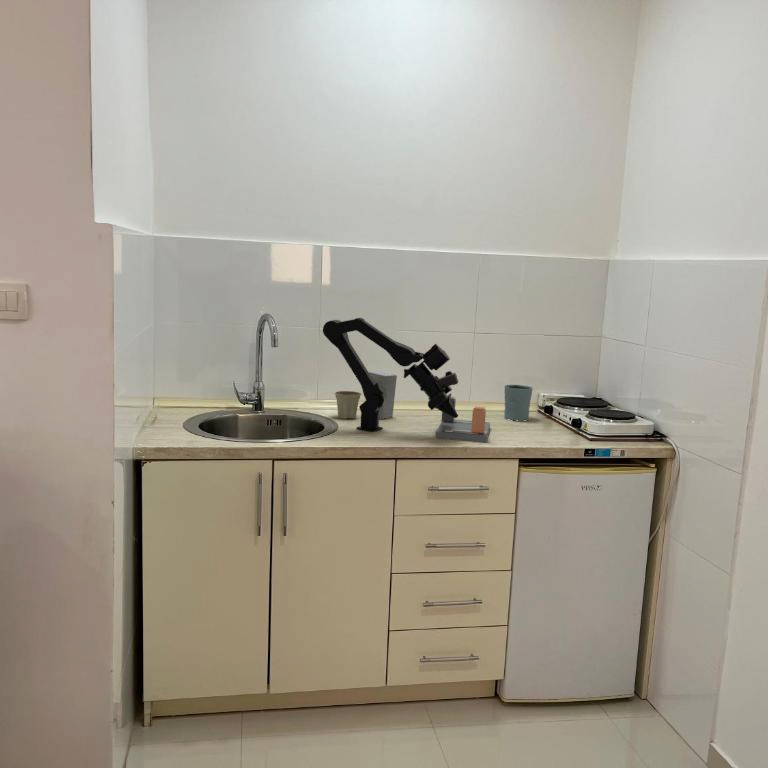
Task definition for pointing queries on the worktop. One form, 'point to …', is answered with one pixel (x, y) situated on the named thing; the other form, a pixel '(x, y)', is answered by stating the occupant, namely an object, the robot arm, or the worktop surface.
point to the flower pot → (347, 403)
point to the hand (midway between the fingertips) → (457, 417)
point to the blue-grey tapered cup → (517, 402)
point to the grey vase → (389, 384)
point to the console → (461, 431)
